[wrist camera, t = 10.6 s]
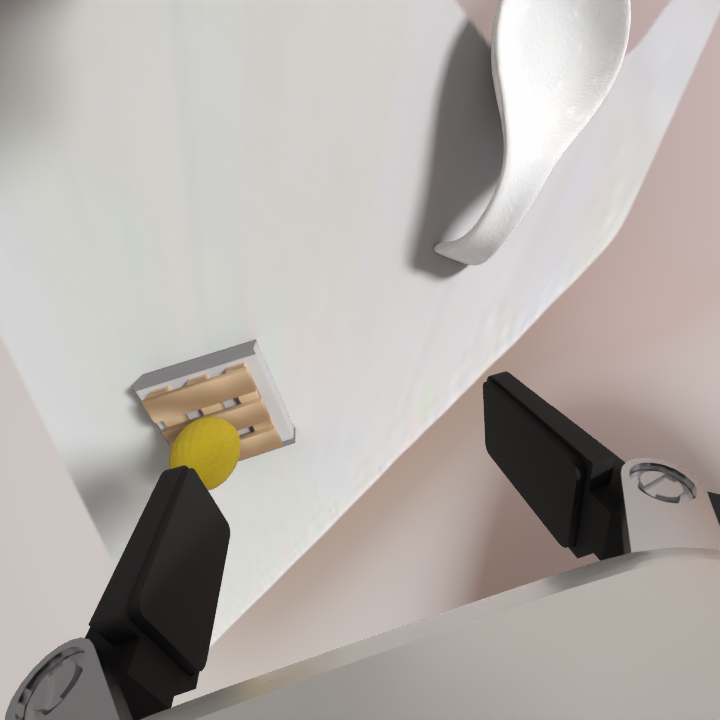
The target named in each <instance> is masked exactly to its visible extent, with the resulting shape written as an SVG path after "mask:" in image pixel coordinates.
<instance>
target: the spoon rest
mask: <svg viewBox="0 0 720 720" xmlns="http://www.w3.org/2000/svg"><path fill="white" fill-rule="evenodd" d="M630 22H631V11H630V0H500V1H499V4H498V8H497V12H496V16H495V20H494V26H493V33H492V41H491V67H492V76H493V82H494V88H495V93H496V99H497V104H498V108H499V113H500V117H501V123H502V131H503V140H504V155H503V165H502V170H501V175H500V178H499V181H498V184H497V186H496V189H495V191H494V194H493V196H492V198H491V200H490V202H489V204H488V206H487V208H486V209H485V211H484V213H483V214H482V216H481V218H480V219H479V221H478V222H477V223H476V225H475V226H474V227H473V228H472V229H471V230H470V231H469V232H468V233H467V234H466V235H464V236H463V237H461V238H460V239H457V240H455V241H451V242H442V243H439V244H437V245H436V246H435V247H434V251H435V252H436V253H438V254H441V255H443V256H445V257H448V258H451V259H453V260H456V261H459V262H462V263H464V264H468V265H479V264H482V263H484V262H485V261H487V260H488V259H489V258H490V257H492V256H493V255H494V254H495V253H496V251H497V250H498V249H499V248H500V247H501V246H502V245H503V244H504V242H505V241H506V240H507V239H508V237H509V236H510V235H511V233H512V232H513V231H514V229H515V228H516V227H517V225H518V224H519V223H520V221H521V219H522V218H523V216H524V215H525V214H526V212H527V211H528V209H529V208H530V206H531V205H532V203H533V201H534V200H535V198H536V196H537V195H538V193H539V191H540V190H541V188H542V186H543V184H544V183H545V181H546V179H547V177H548V175H549V174H550V172H551V170H552V169H553V167H554V165H555V164H556V163H557V161H558V160H559V158H560V157H561V155H562V154H563V153H564V151H565V150H566V149H567V148H568V146H569V145H570V144H571V143H572V141H573V140H574V139H575V138H576V137H577V135H578V134H579V133H580V132H581V130H582V129H583V128H584V127H585V125H586V124H587V123H588V121H589V120H590V119H591V118H592V116H593V115H594V113H595V112H596V111H597V109H598V108H599V106H600V105H601V103H602V102H603V100H604V98H605V97H606V95H607V94H608V92H609V91H610V89H611V87H612V85H613V83H614V81H615V79H616V77H617V74H618V72H619V70H620V67H621V65H622V62H623V59H624V56H625V52H626V47H627V44H628V37H629V31H630Z"/></svg>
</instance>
